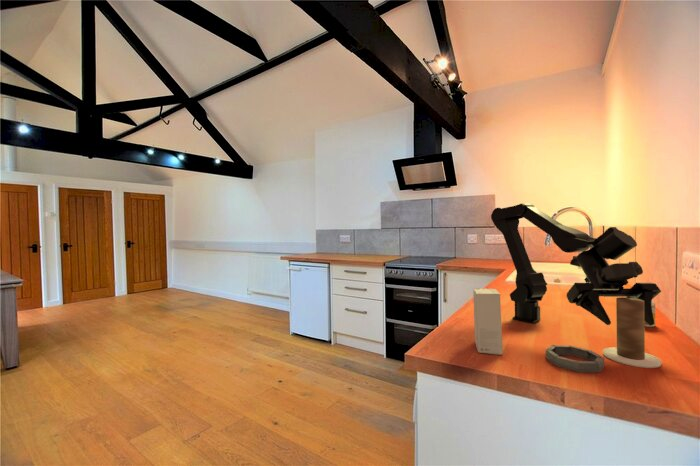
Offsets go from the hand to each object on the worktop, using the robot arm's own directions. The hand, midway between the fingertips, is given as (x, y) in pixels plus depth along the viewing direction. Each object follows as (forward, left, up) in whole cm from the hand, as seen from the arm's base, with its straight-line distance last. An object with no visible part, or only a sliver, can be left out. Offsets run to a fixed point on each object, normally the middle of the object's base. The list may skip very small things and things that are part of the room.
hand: (630, 324), depth 71 cm
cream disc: (0, 0, -8) cm, 8 cm away
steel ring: (-8, -12, -8) cm, 16 cm away
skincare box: (-25, -18, -8) cm, 32 cm away
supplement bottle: (-2, +35, -8) cm, 36 cm away
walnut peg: (0, 0, -7) cm, 7 cm away
